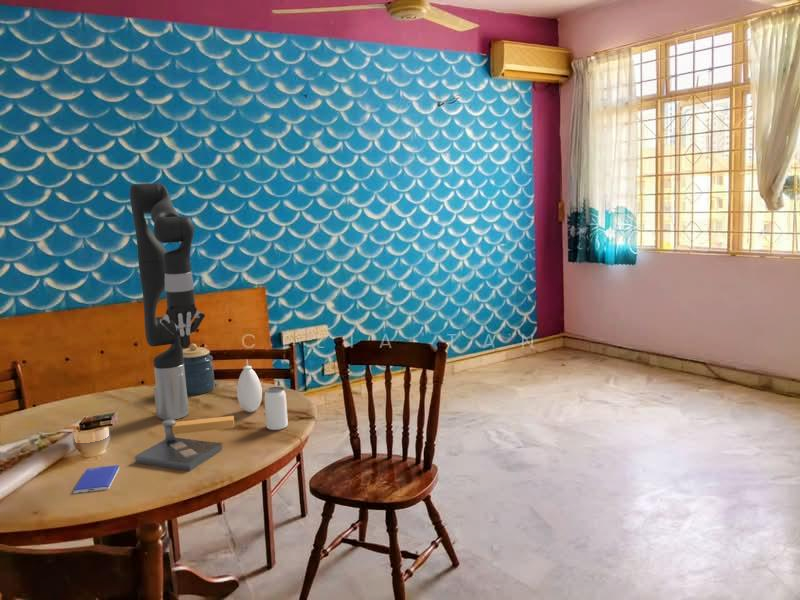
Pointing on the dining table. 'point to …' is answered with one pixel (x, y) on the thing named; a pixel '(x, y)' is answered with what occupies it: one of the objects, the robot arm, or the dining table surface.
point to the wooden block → (196, 426)
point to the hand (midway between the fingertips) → (185, 347)
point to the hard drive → (97, 479)
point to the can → (276, 408)
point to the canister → (198, 370)
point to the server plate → (179, 453)
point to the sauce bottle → (249, 389)
